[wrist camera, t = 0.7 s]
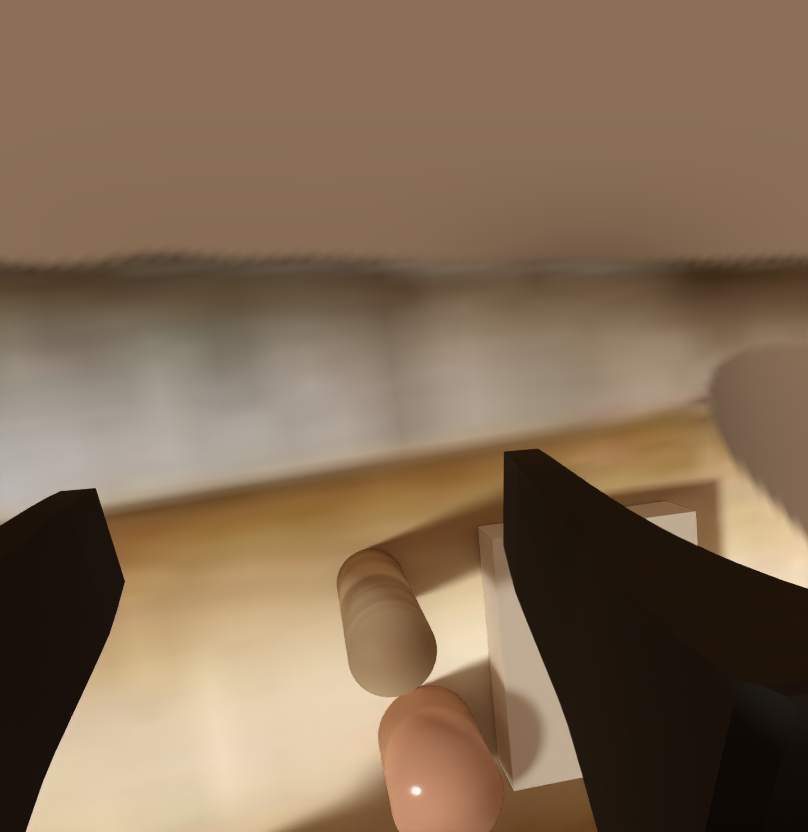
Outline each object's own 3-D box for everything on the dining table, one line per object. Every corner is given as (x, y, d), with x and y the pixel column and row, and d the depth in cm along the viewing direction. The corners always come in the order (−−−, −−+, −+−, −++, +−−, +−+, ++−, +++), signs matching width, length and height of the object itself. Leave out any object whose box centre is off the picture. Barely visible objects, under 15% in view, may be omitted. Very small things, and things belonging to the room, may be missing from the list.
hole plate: (680, 724, 34) (710, 752, 31) (497, 759, 32) (514, 791, 30) (666, 501, 33) (695, 511, 30) (477, 526, 31) (492, 539, 29)
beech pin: (406, 609, 31) (440, 689, 23) (340, 619, 31) (352, 704, 23) (400, 544, 31) (432, 603, 23) (333, 554, 30) (343, 616, 22)
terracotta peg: (477, 770, 32) (508, 841, 27) (383, 788, 31) (397, 864, 27) (468, 678, 32) (498, 734, 27) (373, 694, 31) (385, 754, 26)
